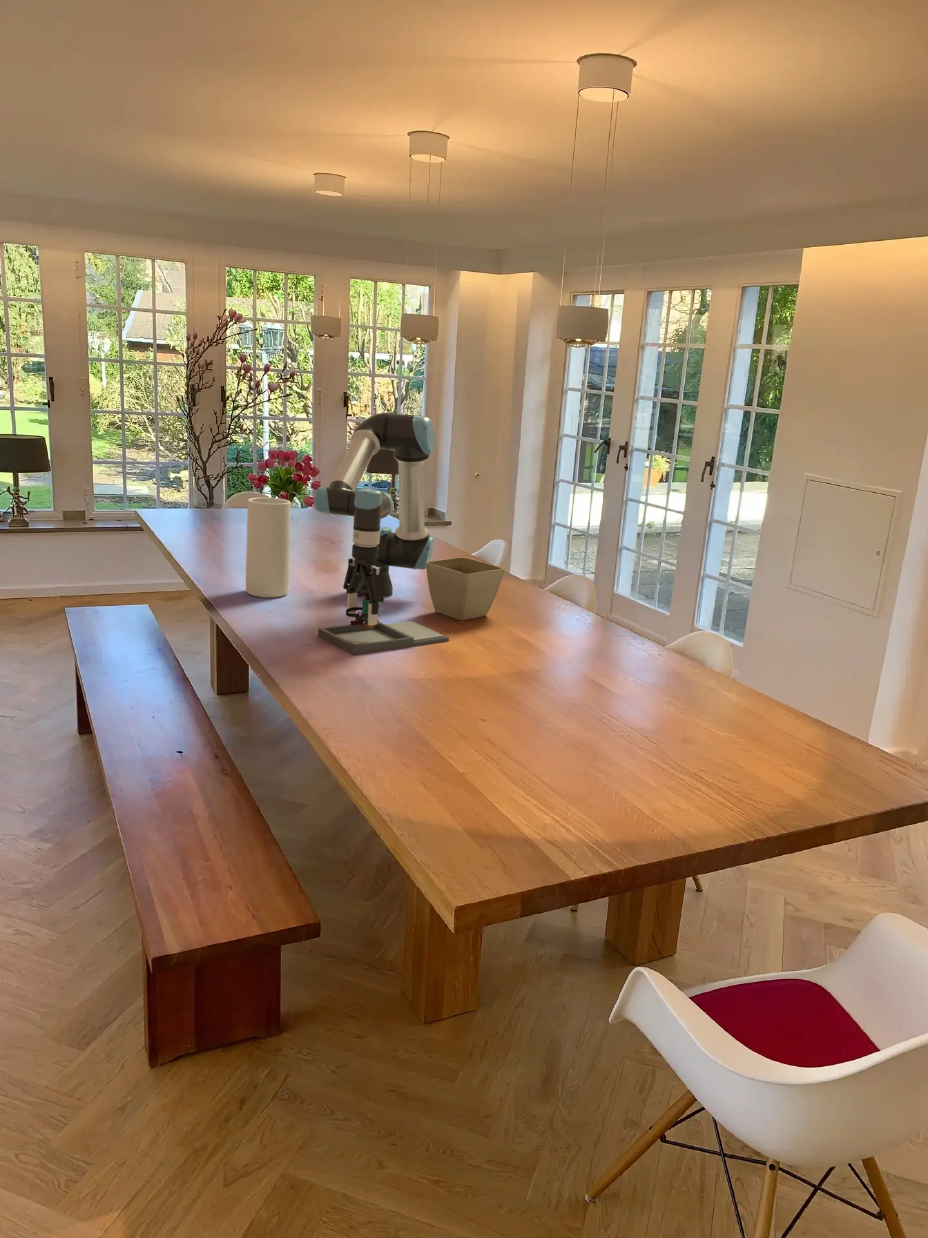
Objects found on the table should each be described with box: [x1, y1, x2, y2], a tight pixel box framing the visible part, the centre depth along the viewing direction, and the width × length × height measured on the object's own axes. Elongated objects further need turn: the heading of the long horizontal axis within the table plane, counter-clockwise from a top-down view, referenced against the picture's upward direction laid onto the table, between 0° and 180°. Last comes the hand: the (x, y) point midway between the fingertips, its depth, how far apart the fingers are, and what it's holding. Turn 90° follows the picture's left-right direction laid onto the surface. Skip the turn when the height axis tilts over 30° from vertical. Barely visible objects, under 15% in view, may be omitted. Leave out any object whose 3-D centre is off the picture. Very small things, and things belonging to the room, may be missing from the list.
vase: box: [245, 497, 292, 599], centre depth 303 cm, size 14×14×32 cm
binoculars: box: [345, 592, 380, 628], centre depth 261 cm, size 9×11×10 cm
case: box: [317, 620, 450, 656], centre depth 267 cm, size 33×19×2 cm, turn 129°
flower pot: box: [425, 556, 505, 621], centre depth 299 cm, size 19×19×17 cm
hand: (361, 619), depth 262 cm, fingers closed on binoculars, 10 cm apart
